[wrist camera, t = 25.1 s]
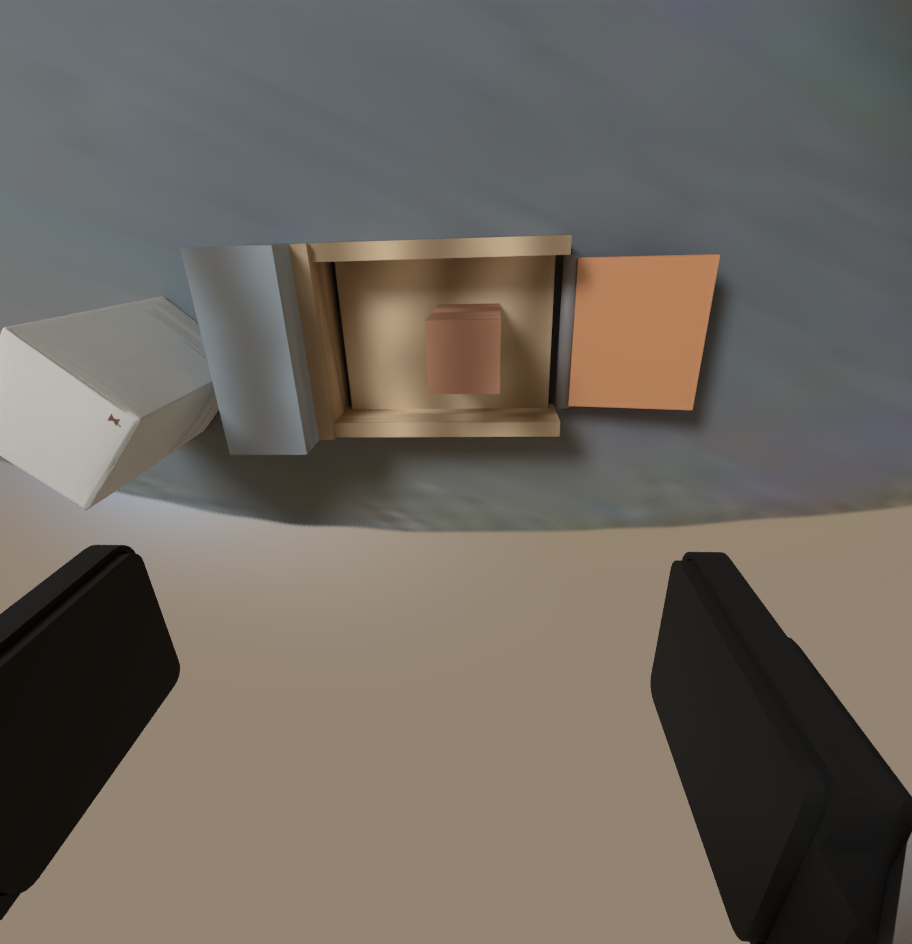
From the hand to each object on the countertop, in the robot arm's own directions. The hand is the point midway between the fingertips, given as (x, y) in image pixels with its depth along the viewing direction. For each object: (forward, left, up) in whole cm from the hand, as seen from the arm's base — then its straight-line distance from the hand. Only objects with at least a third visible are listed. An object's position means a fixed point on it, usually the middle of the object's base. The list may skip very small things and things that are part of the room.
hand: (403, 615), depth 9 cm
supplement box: (+21, +2, -28) cm, 35 cm away
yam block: (0, 0, -27) cm, 27 cm away
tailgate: (-7, 0, -27) cm, 28 cm away
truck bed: (+5, 0, -28) cm, 29 cm away
